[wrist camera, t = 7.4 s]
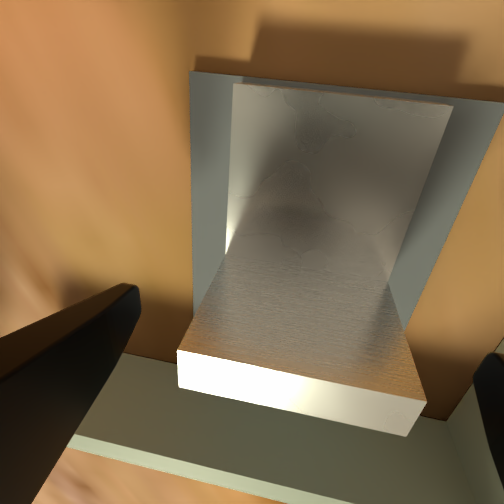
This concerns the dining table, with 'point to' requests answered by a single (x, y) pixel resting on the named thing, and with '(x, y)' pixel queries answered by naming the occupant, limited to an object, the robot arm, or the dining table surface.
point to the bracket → (316, 256)
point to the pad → (424, 217)
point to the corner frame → (285, 445)
